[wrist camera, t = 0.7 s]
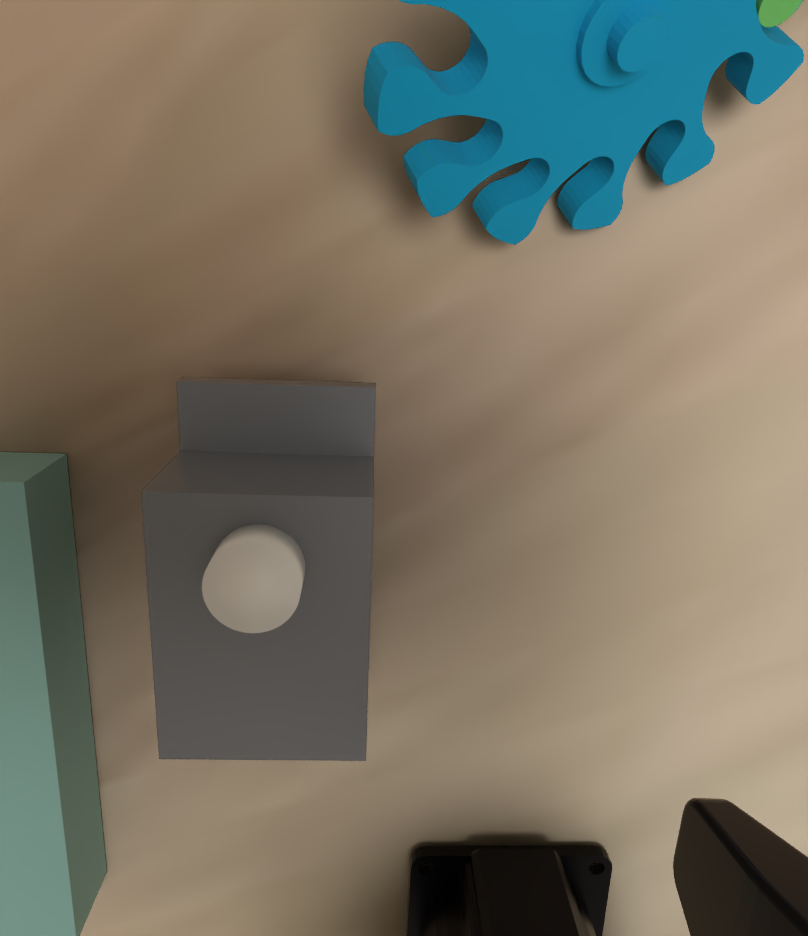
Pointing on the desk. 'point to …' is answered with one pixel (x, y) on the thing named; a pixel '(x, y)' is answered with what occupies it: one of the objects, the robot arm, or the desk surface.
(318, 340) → the desk surface
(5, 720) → the plate
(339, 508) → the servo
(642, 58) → the gear
